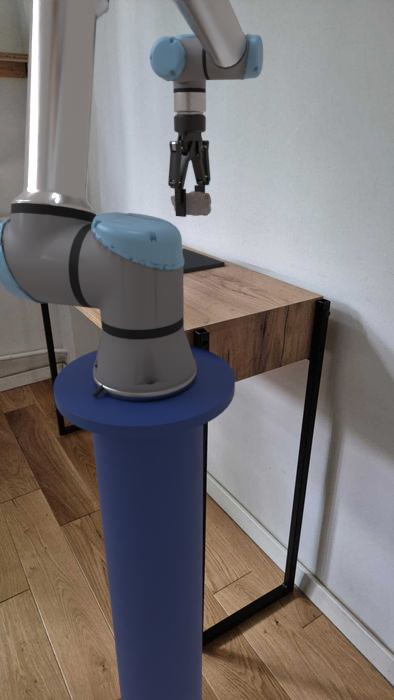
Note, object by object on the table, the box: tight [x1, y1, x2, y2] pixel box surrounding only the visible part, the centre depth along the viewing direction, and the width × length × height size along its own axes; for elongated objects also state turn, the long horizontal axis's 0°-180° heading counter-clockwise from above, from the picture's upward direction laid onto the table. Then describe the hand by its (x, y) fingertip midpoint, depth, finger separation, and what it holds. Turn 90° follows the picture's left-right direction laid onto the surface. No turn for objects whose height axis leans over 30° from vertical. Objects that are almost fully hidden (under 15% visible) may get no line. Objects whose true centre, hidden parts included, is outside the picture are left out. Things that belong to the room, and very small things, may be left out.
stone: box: [170, 190, 212, 217], centre depth 122 cm, size 10×8×6 cm
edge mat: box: [182, 247, 226, 274], centre depth 131 cm, size 20×14×1 cm
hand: (190, 213), depth 122 cm, fingers closed on stone, 8 cm apart
